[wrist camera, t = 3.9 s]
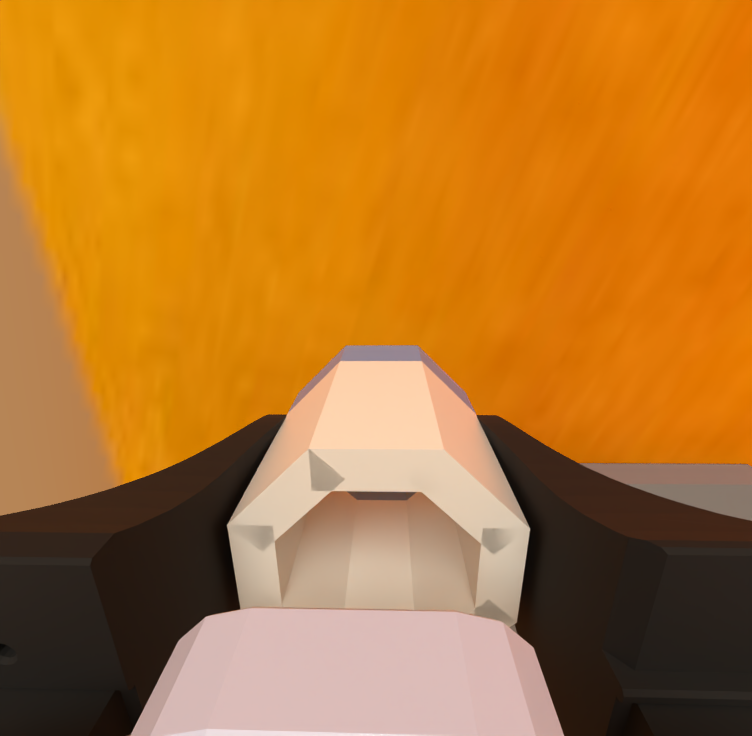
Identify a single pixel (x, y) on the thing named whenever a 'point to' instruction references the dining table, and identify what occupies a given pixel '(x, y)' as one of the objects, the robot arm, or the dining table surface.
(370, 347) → the sleeve
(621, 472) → the pin board
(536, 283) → the dining table surface
